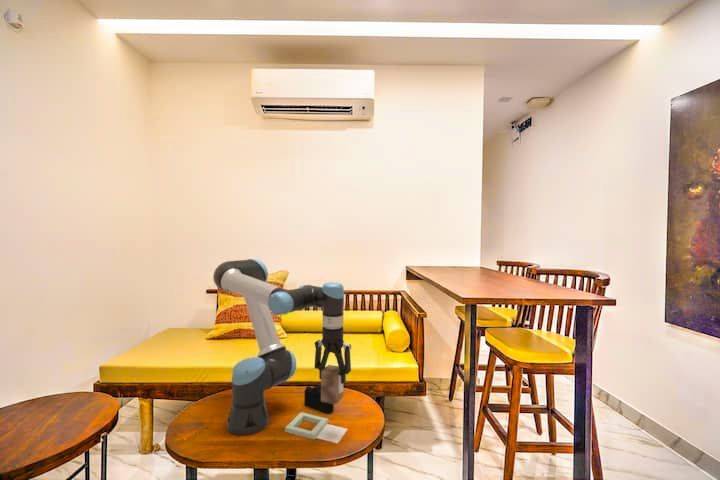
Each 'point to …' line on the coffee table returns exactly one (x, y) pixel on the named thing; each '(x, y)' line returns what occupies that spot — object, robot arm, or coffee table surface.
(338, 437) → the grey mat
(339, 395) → the walnut block
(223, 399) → the coffee table surface
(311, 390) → the film camera
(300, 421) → the pocket board
